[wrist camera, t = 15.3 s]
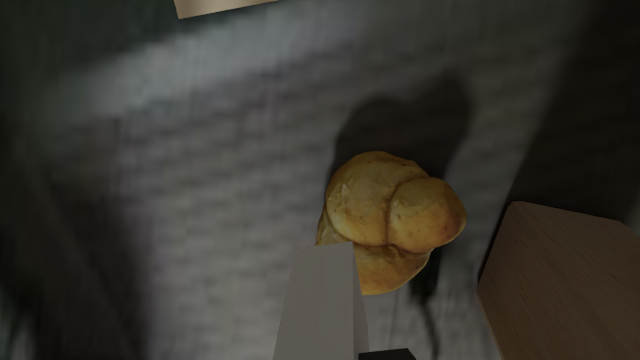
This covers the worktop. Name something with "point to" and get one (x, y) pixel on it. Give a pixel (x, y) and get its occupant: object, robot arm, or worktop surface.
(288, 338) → the robot arm
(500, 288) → the wooden block
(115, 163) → the worktop surface
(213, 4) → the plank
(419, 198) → the bread roll
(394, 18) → the worktop surface
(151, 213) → the worktop surface
